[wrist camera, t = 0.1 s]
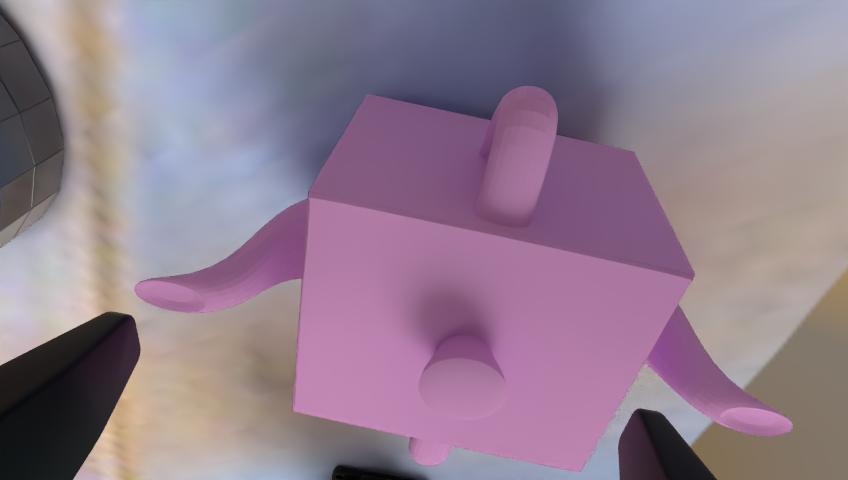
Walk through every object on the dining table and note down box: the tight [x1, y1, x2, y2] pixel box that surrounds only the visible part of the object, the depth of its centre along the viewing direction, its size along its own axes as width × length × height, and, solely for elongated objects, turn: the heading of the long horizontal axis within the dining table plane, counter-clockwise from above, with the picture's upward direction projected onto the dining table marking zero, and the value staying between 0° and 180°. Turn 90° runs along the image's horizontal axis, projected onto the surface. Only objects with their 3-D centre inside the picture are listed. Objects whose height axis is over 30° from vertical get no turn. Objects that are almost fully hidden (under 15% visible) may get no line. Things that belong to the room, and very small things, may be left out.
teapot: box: [134, 86, 793, 472], centre depth 20 cm, size 15×13×11 cm
